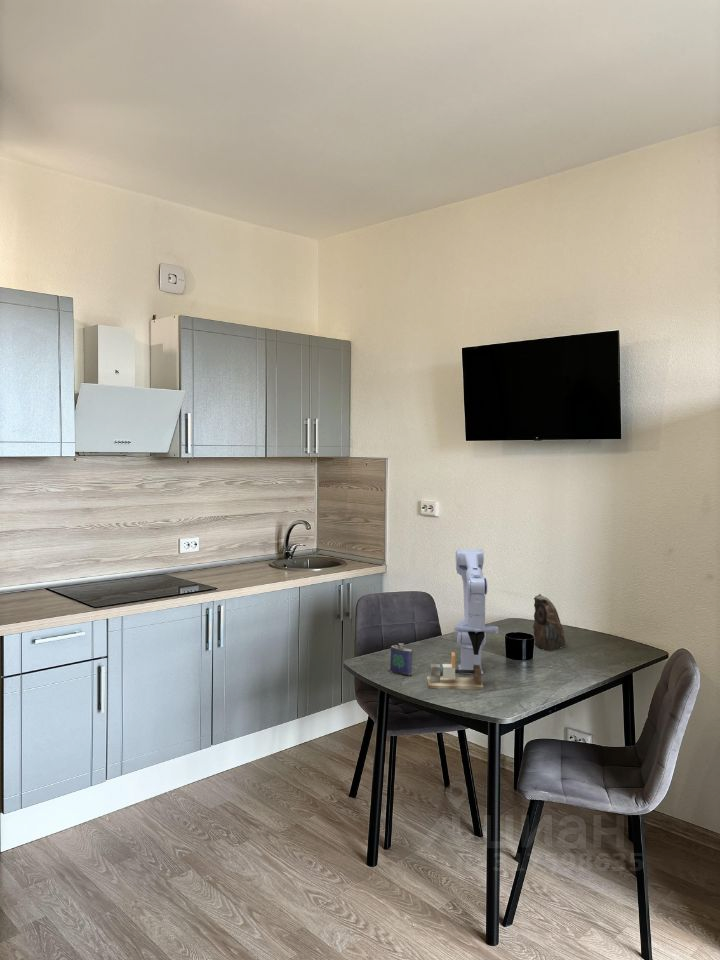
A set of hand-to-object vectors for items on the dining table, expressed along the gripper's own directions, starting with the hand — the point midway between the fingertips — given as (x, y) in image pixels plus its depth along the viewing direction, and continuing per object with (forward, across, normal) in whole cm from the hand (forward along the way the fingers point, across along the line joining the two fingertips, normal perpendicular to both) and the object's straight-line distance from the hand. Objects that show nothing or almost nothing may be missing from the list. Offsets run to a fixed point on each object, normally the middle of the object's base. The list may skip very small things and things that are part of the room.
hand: (475, 654), depth 245 cm
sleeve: (+8, -9, 0) cm, 12 cm away
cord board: (+10, -7, 0) cm, 13 cm away
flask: (+10, -25, +11) cm, 29 cm away
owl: (+9, +35, +49) cm, 61 cm away
